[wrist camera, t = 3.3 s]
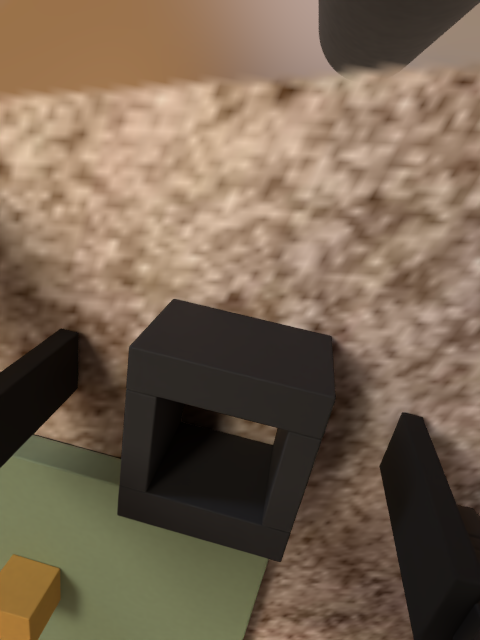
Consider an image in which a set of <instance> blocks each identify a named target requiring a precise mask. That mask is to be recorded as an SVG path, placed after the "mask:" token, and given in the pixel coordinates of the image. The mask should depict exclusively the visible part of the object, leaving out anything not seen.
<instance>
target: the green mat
mask: <svg viewBox="0 0 480 640" xmlns="http://www.w3.org/2000/svg"><path fill="white" fill-rule="evenodd" d="M120 468H121V459H119V458H115V457H112V456H108V455H104V454H101V453H97V452H94V451H90V450H86V449H83V448H79V447H75V446H72V445H68V444H64V443H61V442H57V441H54V440H50V439H46V438H43V437H39V436H35V435H32V436H31V437H30V438H29V439H28V440H27V441H26V442H25V443H24V444H23V445H22V446H21V447H20V448H19V449H18V450H17V451H16V452H15V453H14V454H13V456H12V457H11V458H10V459H9V460H8V461H7V462H6V463H5V464H4V465H3V466H2V467H1V468H0V640H243V638H244V635H245V632H246V629H247V626H248V623H249V620H250V616H251V613H252V610H253V607H254V604H255V601H256V597H257V594H258V591H259V588H260V585H261V582H262V578H263V575H264V572H265V569H266V566H267V563H268V559H267V558H264V557H260V556H257V555H253V554H250V553H246V552H243V551H240V550H236V549H233V548H229V547H226V546H222V545H219V544H215V543H212V542H208V541H205V540H201V539H198V538H194V537H191V536H187V535H184V534H180V533H177V532H173V531H170V530H166V529H163V528H160V527H156V526H153V525H149V524H146V523H142V522H139V521H135V520H132V519H128V518H125V517H121V516H118V515H117V508H118V494H119V485H120V484H119V482H120Z"/></svg>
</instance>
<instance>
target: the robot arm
mask: <svg viewBox="0 0 480 640" xmlns="http://www.w3.org/2000/svg"><path fill="white" fill-rule="evenodd" d="M78 340H79V333H77V332H73V331H69V330H65V329H60V330H58V331H57V332H56V333H54V334H53V335H51V336H50V337H49V338H47V339H46V340H45V341H43V342H42V343H40V344H39V345H38V346H36V347H35V348H34V349H32V350H31V351H29V352H28V353H27V354H25V355H24V356H22V357H21V358H20V359H18V360H17V361H16V362H14V363H13V364H11V365H10V366H9V367H7V368H6V369H5V370H3V371H2V372H0V468H1V467H2V466H3V465H4V464H5V463H6V462H7V461H8V460H9V459H10V458H11V457H12V456H13V454H14V453H15V452H16V451H17V450H18V449H19V448H20V447H21V446H22V445H23V444H24V443H25V442H26V441H27V440H28V439H29V438H30V437H31V436H32V435H33V434H34V433H35V432H36V431H37V430H38V429H39V428H40V427H41V426H42V425H43V424H44V423H45V422H46V421H47V420H48V419H49V417H50V416H51V415H52V414H53V413H54V412H55V411H56V410H57V409H58V408H59V407H60V406H61V405H62V404H63V403H64V402H65V401H66V400H67V399H68V398H69V397H70V396H71V395H72V394H73V393H74V392H75V391H76V390H77V389H78ZM380 470H381V476H382V481H383V486H384V491H385V496H386V501H387V506H388V511H389V516H390V521H391V526H392V531H393V536H394V541H395V546H396V551H397V557H398V562H399V567H400V572H401V577H402V582H403V587H404V592H405V597H406V602H407V607H408V612H409V617H410V622H411V627H412V632H413V637H414V640H480V517H479V515H478V514H477V513H476V512H475V511H474V509H473V508H469V507H465V506H461V505H457V504H456V502H455V499H454V497H453V494H452V492H451V489H450V487H449V484H448V481H447V479H446V476H445V474H444V471H443V469H442V466H441V463H440V461H439V458H438V456H437V453H436V451H435V448H434V445H433V443H432V440H431V438H430V435H429V433H428V430H427V428H426V425H425V422H424V420H423V417H419V416H415V415H411V414H407V413H403V412H402V415H401V417H400V419H399V422H398V424H397V426H396V429H395V431H394V433H393V436H392V438H391V441H390V443H389V445H388V448H387V450H386V452H385V455H384V457H383V459H382V462H381V464H380Z"/></svg>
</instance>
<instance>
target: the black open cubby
mask: <svg viewBox="0 0 480 640" xmlns="http://www.w3.org/2000/svg"><path fill="white" fill-rule="evenodd" d="M126 388H127V390H126V400H125V413H124V427H123V441H122V455H121V468H120V482H119V484H120V485H119V494H118V508H117V515H118V516H121V517H125V518H128V519H132V520H135V521H139V522H142V523H146V524H149V525H153V526H156V527H160V528H163V529H166V530H170V531H173V532H177V533H180V534H184V535H187V536H191V537H194V538H198V539H201V540H205V541H208V542H212V543H215V544H219V545H222V546H226V547H229V548H233V549H236V550H240V551H243V552H246V553H250V554H253V555H257V556H260V557H264V558H267V559H271V560H274V561H278V562H281V560H282V557H283V554H284V551H285V548H286V545H287V542H288V539H289V536H290V532H291V530H292V527H293V524H294V521H295V518H296V515H297V512H298V509H299V506H300V503H301V500H302V498H303V495H304V492H305V489H306V486H307V483H308V480H309V477H310V474H311V471H312V468H313V465H314V462H315V459H316V456H317V453H318V450H319V447H320V444H321V441H322V438H323V435H324V432H325V429H326V426H327V423H328V420H329V417H330V414H331V411H332V409H333V406H334V403H335V400H336V395H335V380H334V365H333V350H332V337H331V336H328V335H324V334H320V333H315V332H311V331H307V330H303V329H299V328H294V327H290V326H286V325H282V324H277V323H273V322H269V321H265V320H261V319H256V318H252V317H248V316H244V315H240V314H235V313H231V312H227V311H223V310H218V309H214V308H210V307H206V306H202V305H197V304H193V303H189V302H185V301H180V300H176V299H173V300H172V301H171V302H170V303H169V304H168V305H167V306H166V307H165V309H164V310H163V311H162V312H161V313H160V314H159V315H158V316H157V317H156V318H155V319H154V320H153V322H152V323H151V324H150V325H149V326H148V327H147V328H146V329H145V330H144V331H143V332H142V333H141V335H140V336H139V337H138V338H137V339H136V340H135V341H134V342H133V343H132V344H131V345H130V347H129V357H128V371H127V385H126ZM184 404H187V405H191V406H195V407H199V408H203V409H207V410H210V411H214V412H218V413H222V414H226V415H230V416H234V417H237V418H241V419H245V420H249V421H253V422H257V423H261V424H264V425H268V426H272V427H276V428H278V430H277V433H276V437H275V441H274V444H273V446H272V445H269V444H265V443H261V442H257V441H253V440H250V439H246V438H242V437H238V436H234V435H231V434H227V433H223V432H219V431H215V430H212V429H208V428H204V427H200V426H196V425H193V424H189V423H185V422H181V420H182V413H183V407H184Z"/></svg>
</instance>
